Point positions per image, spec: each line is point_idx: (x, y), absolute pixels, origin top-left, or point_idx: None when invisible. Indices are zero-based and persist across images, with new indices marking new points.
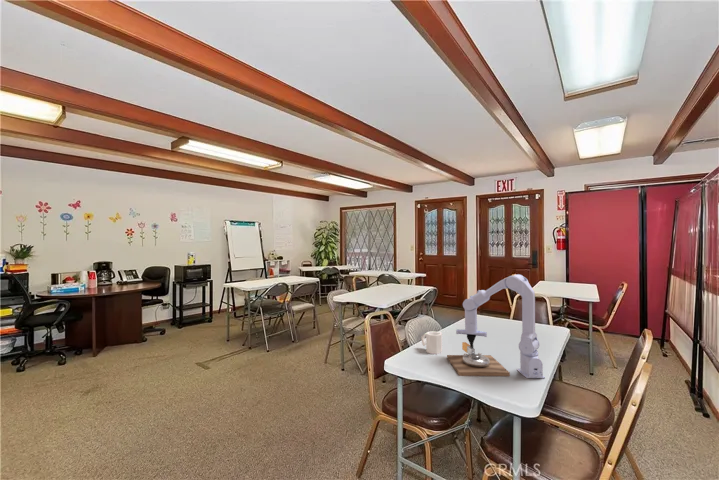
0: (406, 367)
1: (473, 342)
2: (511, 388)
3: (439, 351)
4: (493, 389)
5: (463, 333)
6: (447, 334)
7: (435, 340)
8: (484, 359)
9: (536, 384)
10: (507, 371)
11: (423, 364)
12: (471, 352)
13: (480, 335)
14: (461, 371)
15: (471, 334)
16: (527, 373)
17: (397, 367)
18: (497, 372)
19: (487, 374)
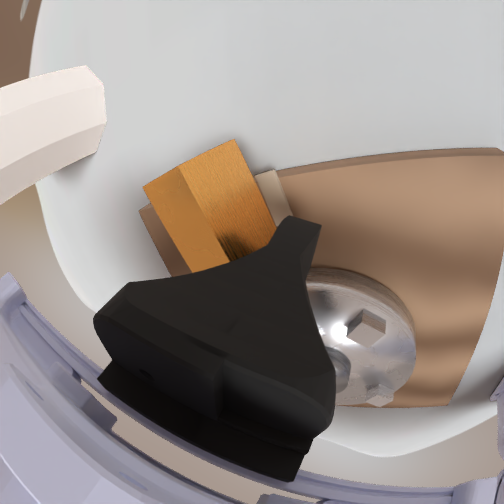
0: (101, 307)
1: (302, 274)
2: (393, 433)
3: (91, 137)
4: (340, 432)
5: (68, 363)
6: None
7: (22, 189)
8: (374, 378)
9: (480, 416)
10: (445, 400)
11: (116, 290)
12: None
13: (374, 500)
14: None
15: (193, 450)
16: (500, 404)
17: (90, 305)
18: (396, 407)
19: None
